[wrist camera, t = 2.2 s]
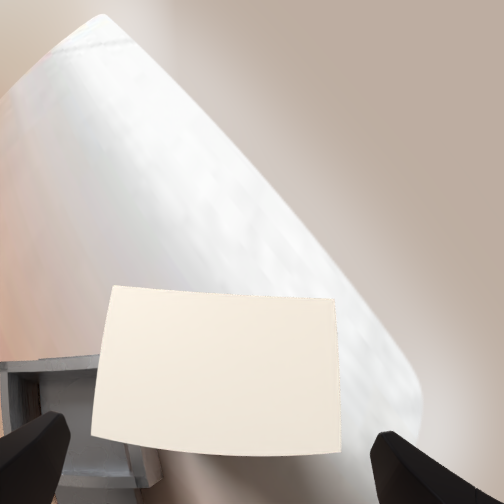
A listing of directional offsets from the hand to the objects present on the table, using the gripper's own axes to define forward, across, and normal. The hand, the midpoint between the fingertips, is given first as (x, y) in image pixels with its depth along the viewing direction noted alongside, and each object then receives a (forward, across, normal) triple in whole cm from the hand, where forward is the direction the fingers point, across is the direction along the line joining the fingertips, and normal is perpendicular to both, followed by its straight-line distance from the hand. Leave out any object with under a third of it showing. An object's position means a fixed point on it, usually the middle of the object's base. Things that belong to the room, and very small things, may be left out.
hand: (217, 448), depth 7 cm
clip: (+8, 0, +5) cm, 9 cm away
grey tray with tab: (+3, +7, +10) cm, 12 cm away
